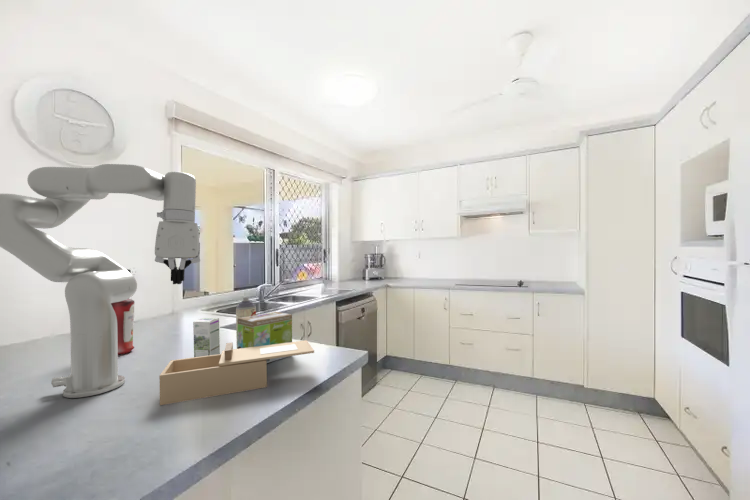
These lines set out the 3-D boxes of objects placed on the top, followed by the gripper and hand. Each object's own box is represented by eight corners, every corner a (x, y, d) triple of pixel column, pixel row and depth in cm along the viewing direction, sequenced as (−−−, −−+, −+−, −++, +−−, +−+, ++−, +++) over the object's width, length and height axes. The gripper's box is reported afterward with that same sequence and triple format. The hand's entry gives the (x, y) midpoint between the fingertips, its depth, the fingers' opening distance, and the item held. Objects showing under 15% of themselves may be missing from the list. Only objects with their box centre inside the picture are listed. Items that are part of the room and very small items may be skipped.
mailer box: (159, 405, 75) (159, 375, 75) (171, 386, 86) (170, 360, 86) (266, 387, 84) (266, 360, 84) (264, 371, 95) (264, 348, 95)
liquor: (115, 351, 120) (114, 277, 121) (138, 348, 123) (137, 276, 123) (105, 356, 113) (105, 278, 114) (130, 354, 116) (129, 278, 116)
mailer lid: (218, 366, 79) (218, 353, 80) (222, 352, 91) (222, 341, 91) (314, 352, 88) (313, 341, 89) (306, 342, 100) (306, 332, 100)
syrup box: (220, 360, 106) (220, 317, 107) (210, 366, 100) (209, 321, 101) (204, 360, 107) (204, 317, 107) (193, 366, 101) (192, 321, 101)
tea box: (254, 369, 98) (253, 321, 98) (236, 362, 104) (236, 317, 104) (293, 355, 110) (292, 313, 110) (275, 351, 116) (275, 310, 116)
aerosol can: (255, 353, 113) (254, 297, 113) (234, 355, 111) (233, 298, 112) (258, 348, 120) (257, 295, 120) (238, 349, 118) (237, 296, 118)
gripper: (142, 214, 82) (140, 285, 81) (207, 218, 87) (205, 284, 87) (151, 217, 89) (149, 283, 88) (211, 220, 94) (209, 282, 94)
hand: (177, 283), depth 87 cm, fingers closed
